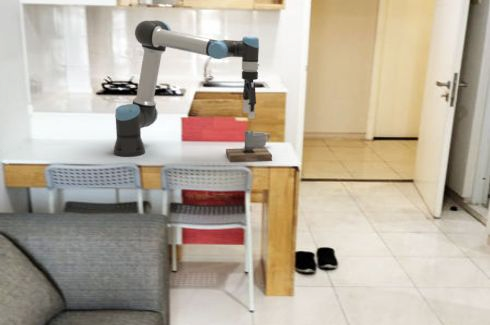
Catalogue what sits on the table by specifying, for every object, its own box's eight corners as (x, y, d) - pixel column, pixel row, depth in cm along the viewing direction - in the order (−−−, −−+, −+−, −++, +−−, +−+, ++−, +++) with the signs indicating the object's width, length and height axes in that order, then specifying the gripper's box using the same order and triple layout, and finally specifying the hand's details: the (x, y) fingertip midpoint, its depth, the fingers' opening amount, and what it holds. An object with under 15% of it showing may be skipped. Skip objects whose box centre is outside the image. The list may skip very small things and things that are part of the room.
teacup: (249, 151, 270) (249, 136, 268) (242, 146, 280) (242, 131, 278) (274, 149, 275) (275, 134, 272) (267, 145, 284) (267, 130, 282)
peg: (243, 156, 259) (244, 130, 256) (251, 156, 260) (252, 130, 257) (245, 158, 255) (245, 132, 252) (253, 158, 256) (253, 132, 253)
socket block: (225, 154, 262) (226, 148, 262) (265, 153, 266) (265, 147, 265) (230, 162, 249) (230, 155, 248) (271, 160, 253) (272, 154, 252)
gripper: (263, 73, 236) (262, 120, 241) (252, 68, 259) (251, 111, 265) (247, 73, 234) (245, 120, 240) (237, 68, 258) (236, 111, 263)
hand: (248, 115), depth 252 cm, fingers open, 13 cm apart
